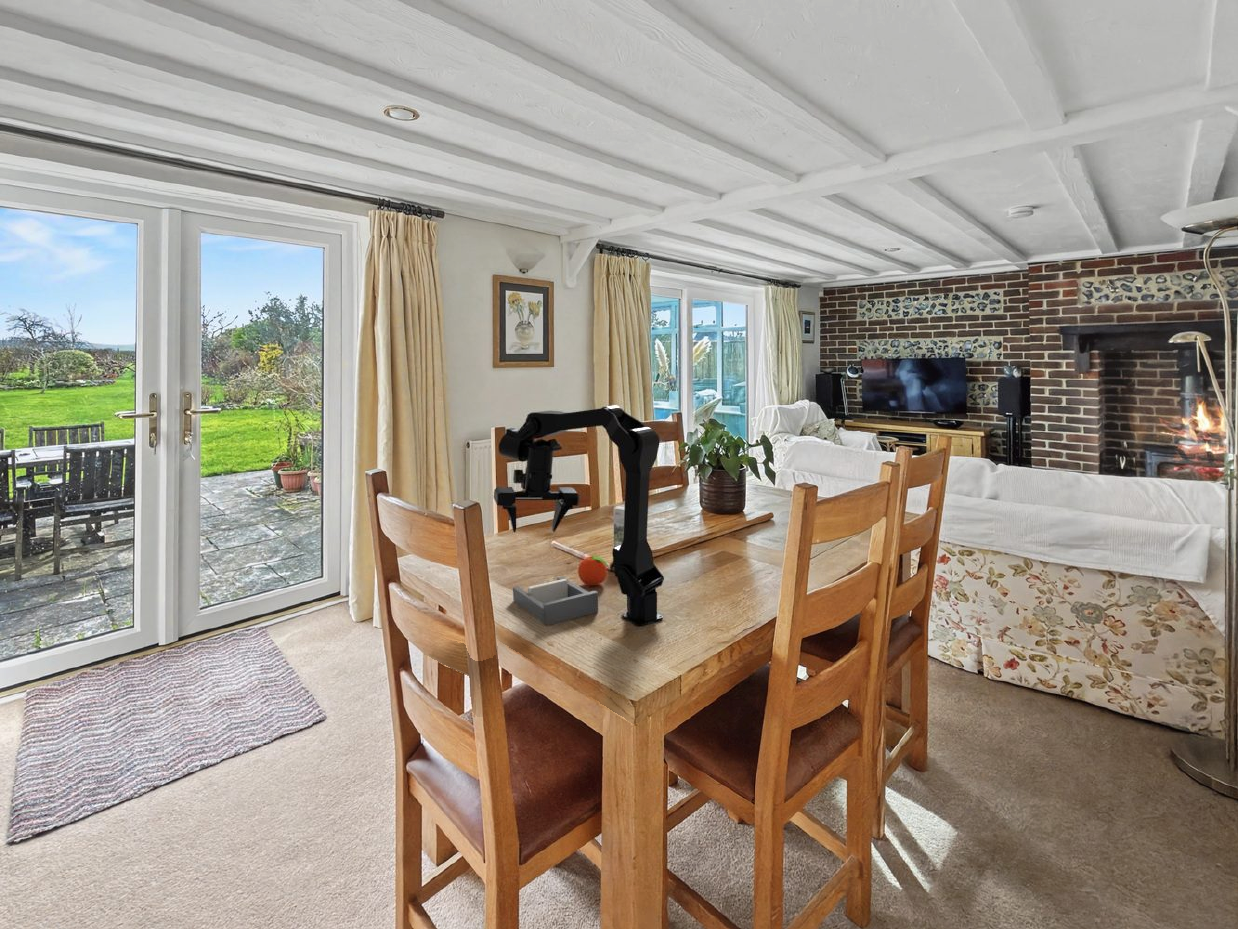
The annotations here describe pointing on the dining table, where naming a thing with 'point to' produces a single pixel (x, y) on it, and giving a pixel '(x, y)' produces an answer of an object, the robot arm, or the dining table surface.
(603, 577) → the clementine
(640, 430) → the robot arm
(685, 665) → the dining table surface
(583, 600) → the grey shallow tray
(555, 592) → the pusher paddle
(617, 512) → the syrup box
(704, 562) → the dining table surface
